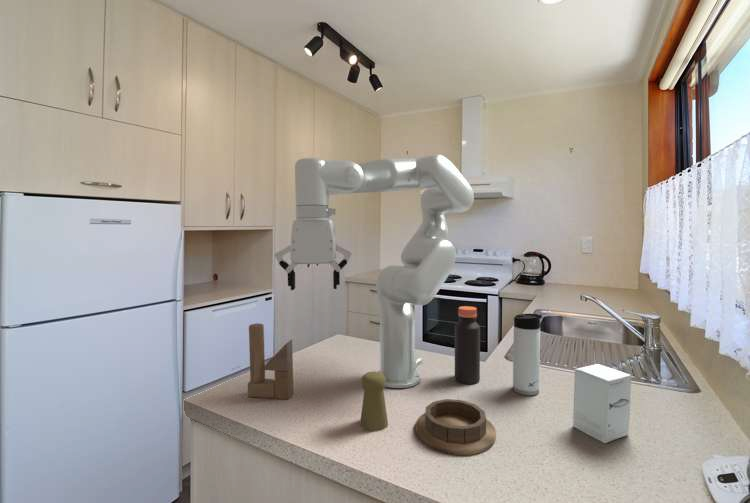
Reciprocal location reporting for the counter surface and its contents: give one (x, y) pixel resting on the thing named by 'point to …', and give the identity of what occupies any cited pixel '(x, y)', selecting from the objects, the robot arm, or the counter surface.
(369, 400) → the olive knobbed pestle
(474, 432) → the collar stand
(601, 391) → the supplement box
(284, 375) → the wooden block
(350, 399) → the counter surface
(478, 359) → the bottle
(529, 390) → the travel mug
